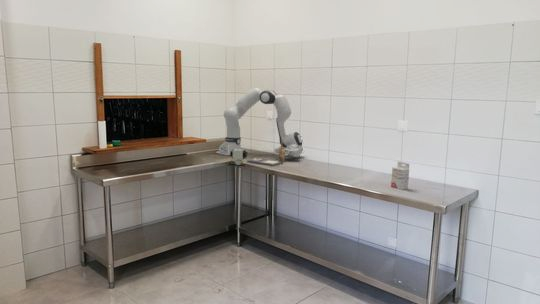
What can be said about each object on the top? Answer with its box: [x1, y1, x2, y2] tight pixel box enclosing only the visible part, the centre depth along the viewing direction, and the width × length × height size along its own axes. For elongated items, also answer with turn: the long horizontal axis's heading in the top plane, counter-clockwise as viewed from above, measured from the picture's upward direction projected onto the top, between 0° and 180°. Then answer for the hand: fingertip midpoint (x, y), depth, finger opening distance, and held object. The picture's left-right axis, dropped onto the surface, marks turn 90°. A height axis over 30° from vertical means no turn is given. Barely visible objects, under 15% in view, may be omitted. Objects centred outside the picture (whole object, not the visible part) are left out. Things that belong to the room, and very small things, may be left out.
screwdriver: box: [277, 141, 286, 163], centre depth 311 cm, size 5×5×16 cm
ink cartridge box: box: [390, 161, 410, 191], centre depth 236 cm, size 9×5×15 cm, turn 35°
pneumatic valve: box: [229, 148, 248, 166], centre depth 297 cm, size 6×12×12 cm, turn 74°
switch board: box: [246, 157, 284, 167], centre depth 306 cm, size 24×13×2 cm, turn 53°
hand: (281, 152), depth 311 cm, fingers closed on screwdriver, 5 cm apart
